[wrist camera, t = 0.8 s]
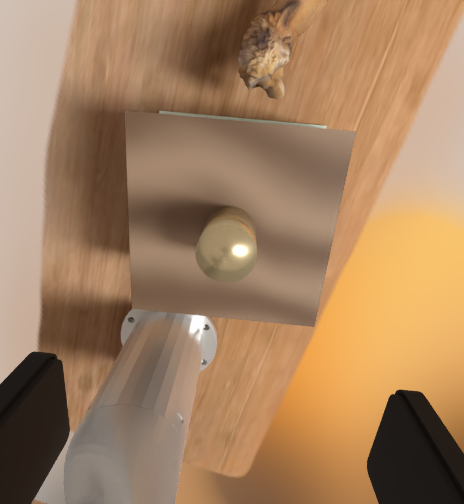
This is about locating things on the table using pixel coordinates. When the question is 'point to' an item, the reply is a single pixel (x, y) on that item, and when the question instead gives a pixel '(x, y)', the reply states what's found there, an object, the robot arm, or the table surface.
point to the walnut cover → (232, 215)
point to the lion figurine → (274, 43)
